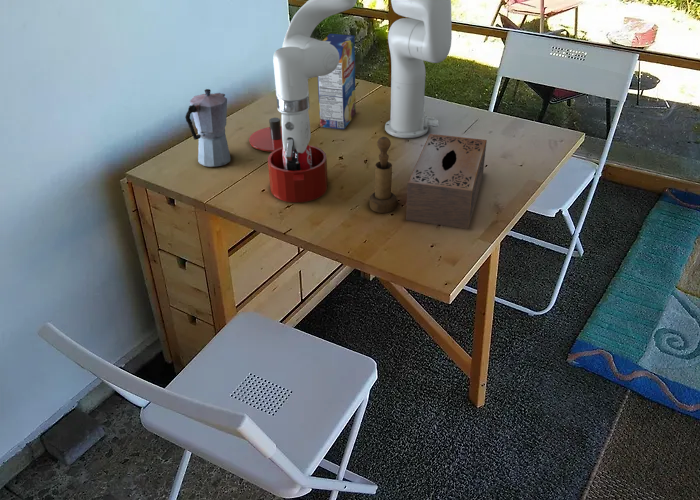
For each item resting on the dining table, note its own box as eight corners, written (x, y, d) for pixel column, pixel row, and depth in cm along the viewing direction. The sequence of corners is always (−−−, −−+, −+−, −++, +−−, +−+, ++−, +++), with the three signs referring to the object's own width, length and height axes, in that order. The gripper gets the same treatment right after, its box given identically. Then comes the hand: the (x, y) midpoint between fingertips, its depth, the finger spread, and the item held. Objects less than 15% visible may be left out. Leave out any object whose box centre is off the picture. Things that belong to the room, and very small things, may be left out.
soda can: (309, 194, 163) (306, 150, 156) (282, 191, 164) (277, 148, 157) (316, 180, 168) (313, 137, 161) (289, 177, 170) (286, 135, 163)
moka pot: (244, 152, 183) (236, 83, 171) (213, 177, 171) (201, 105, 160) (216, 146, 186) (205, 78, 174) (183, 170, 175) (169, 99, 163)
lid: (302, 127, 195) (300, 107, 191) (304, 151, 182) (303, 129, 179) (249, 131, 194) (247, 110, 190) (249, 155, 181) (246, 133, 177)
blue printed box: (332, 110, 204) (330, 33, 190) (355, 113, 202) (354, 35, 189) (319, 126, 195) (315, 46, 181) (343, 129, 193) (341, 49, 179)
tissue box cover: (427, 168, 173) (429, 133, 168) (482, 175, 170) (486, 139, 164) (406, 219, 153) (407, 182, 148) (468, 228, 150) (472, 190, 144)
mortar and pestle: (388, 215, 155) (389, 146, 144) (364, 208, 158) (364, 140, 147) (401, 203, 159) (403, 135, 149) (378, 196, 162) (378, 129, 152)
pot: (324, 167, 175) (323, 138, 170) (330, 206, 159) (329, 175, 154) (270, 170, 174) (267, 141, 169) (271, 210, 158) (267, 179, 153)
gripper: (300, 118, 146) (305, 188, 156) (316, 88, 160) (319, 154, 170) (268, 117, 147) (274, 186, 157) (286, 87, 161) (291, 152, 171)
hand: (298, 169), depth 163 cm, fingers closed on soda can, 7 cm apart
